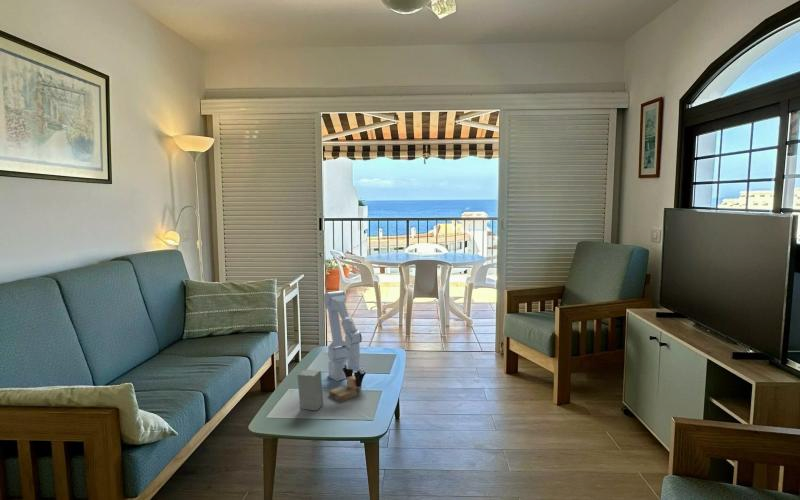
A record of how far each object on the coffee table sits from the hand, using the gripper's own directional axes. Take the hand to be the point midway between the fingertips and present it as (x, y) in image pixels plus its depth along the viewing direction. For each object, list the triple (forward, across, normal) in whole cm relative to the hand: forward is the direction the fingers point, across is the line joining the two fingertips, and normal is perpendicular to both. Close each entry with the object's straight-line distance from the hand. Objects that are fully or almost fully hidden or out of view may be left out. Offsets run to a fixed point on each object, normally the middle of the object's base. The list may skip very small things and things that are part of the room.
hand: (354, 384), depth 220 cm
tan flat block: (+2, +5, -10) cm, 11 cm away
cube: (+2, 0, 0) cm, 2 cm away
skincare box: (+2, +6, -27) cm, 28 cm away
